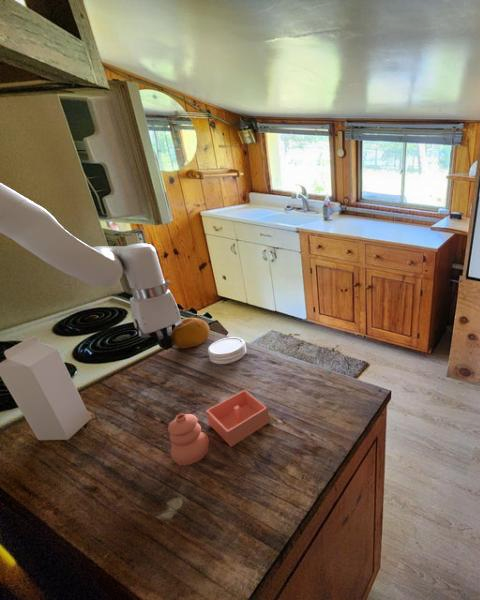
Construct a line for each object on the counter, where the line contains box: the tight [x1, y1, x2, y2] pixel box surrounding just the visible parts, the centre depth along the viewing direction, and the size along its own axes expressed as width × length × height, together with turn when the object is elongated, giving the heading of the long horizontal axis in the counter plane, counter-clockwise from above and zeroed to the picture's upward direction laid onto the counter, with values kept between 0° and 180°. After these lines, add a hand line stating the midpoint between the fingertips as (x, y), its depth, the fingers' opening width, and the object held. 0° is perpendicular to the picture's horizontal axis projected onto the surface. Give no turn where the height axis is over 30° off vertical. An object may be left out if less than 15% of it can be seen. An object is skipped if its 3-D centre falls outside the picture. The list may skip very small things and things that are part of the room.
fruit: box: [171, 317, 211, 349], centre depth 100 cm, size 10×10×8 cm
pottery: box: [167, 389, 271, 466], centre depth 68 cm, size 18×10×10 cm, turn 142°
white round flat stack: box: [207, 336, 248, 365], centre depth 96 cm, size 10×10×4 cm
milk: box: [0, 335, 92, 441], centre depth 66 cm, size 6×6×22 cm
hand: (167, 347), depth 95 cm, fingers closed
